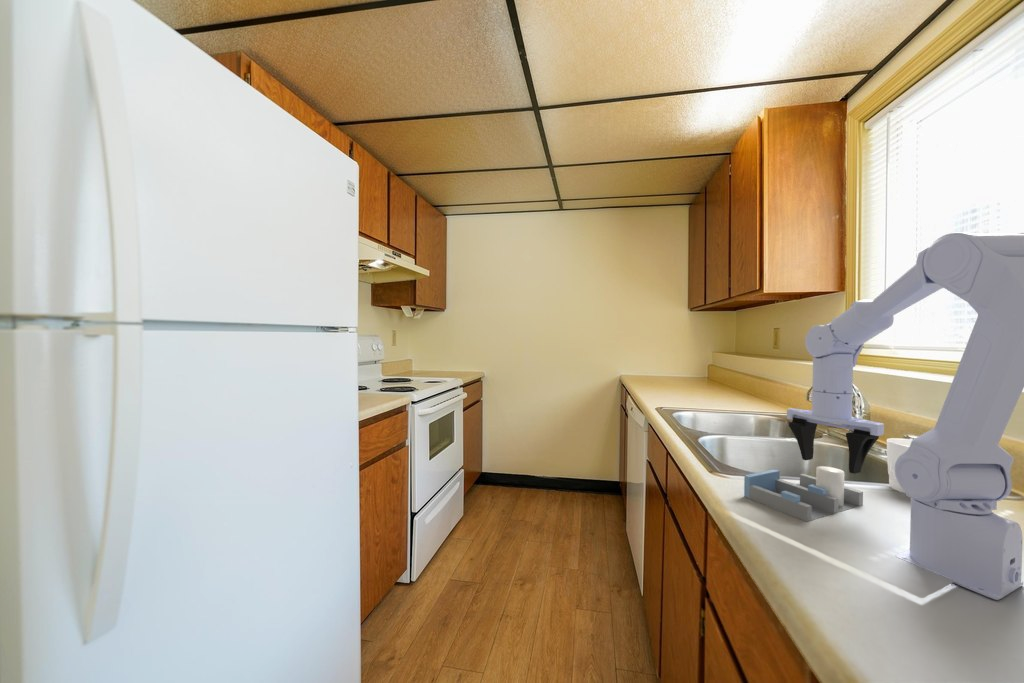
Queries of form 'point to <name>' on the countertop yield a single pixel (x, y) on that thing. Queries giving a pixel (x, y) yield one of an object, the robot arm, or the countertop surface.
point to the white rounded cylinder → (831, 482)
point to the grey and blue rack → (797, 495)
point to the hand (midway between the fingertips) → (830, 465)
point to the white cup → (895, 459)
